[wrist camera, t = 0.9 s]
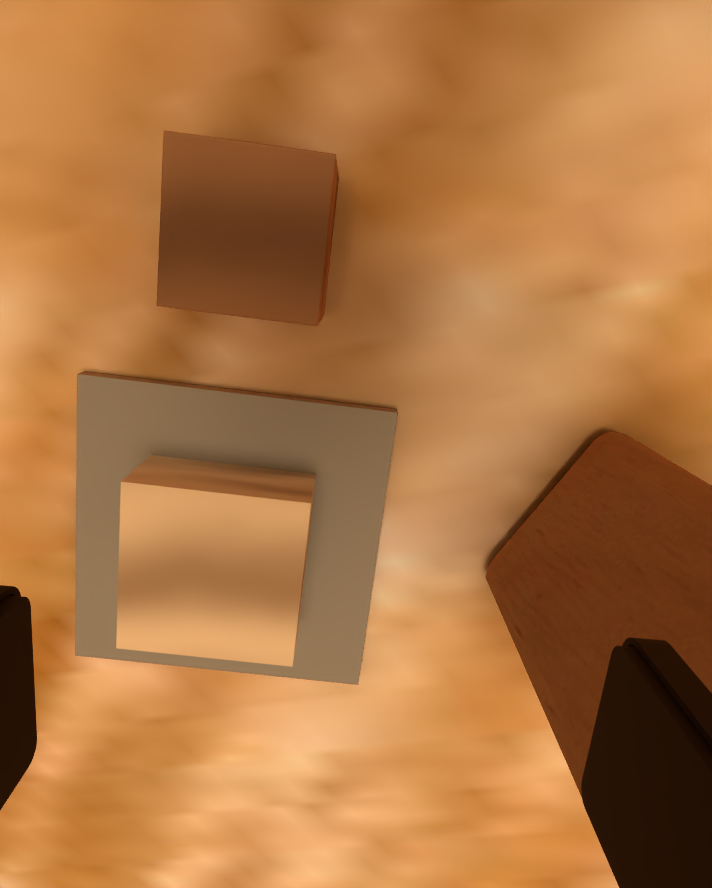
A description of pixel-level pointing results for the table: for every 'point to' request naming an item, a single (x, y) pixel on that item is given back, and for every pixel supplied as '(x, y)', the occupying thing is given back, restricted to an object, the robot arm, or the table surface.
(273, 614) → the birch base brick
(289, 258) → the walnut cube
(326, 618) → the grey flat square
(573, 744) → the wooden block
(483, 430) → the table surface
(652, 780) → the robot arm
